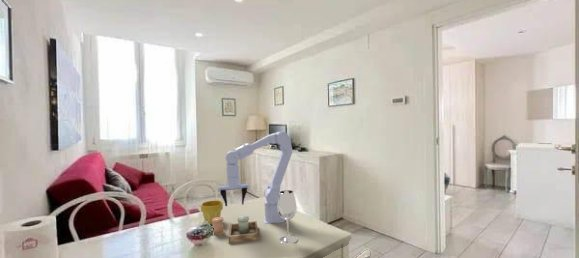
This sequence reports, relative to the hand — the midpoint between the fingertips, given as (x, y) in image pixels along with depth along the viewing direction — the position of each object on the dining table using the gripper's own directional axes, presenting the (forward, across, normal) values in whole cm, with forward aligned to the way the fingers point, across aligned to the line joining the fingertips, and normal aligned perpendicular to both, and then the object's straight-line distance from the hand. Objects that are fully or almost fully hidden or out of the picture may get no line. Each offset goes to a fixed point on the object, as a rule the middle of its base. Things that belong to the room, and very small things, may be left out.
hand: (234, 204), depth 128 cm
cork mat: (+10, +8, +7) cm, 14 cm away
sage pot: (+9, -4, +10) cm, 14 cm away
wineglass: (+10, -22, +22) cm, 33 cm away
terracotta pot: (+9, +8, +8) cm, 14 cm away
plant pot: (+10, +11, -6) cm, 16 cm away
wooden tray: (+10, -4, +13) cm, 16 cm away
